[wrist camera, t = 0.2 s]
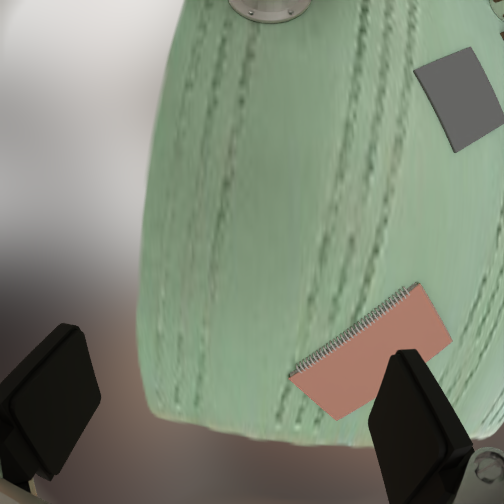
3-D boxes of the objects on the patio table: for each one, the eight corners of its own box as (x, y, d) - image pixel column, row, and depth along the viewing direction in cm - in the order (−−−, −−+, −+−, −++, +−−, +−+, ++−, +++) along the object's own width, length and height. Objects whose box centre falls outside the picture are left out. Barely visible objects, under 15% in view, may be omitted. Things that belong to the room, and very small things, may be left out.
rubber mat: (412, 70, 37) (414, 70, 36) (469, 47, 34) (470, 46, 33) (454, 152, 40) (455, 152, 39) (504, 121, 37) (506, 121, 36)
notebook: (413, 274, 47) (418, 279, 45) (448, 336, 50) (453, 341, 48) (284, 369, 53) (284, 376, 51) (335, 415, 56) (336, 421, 54)
